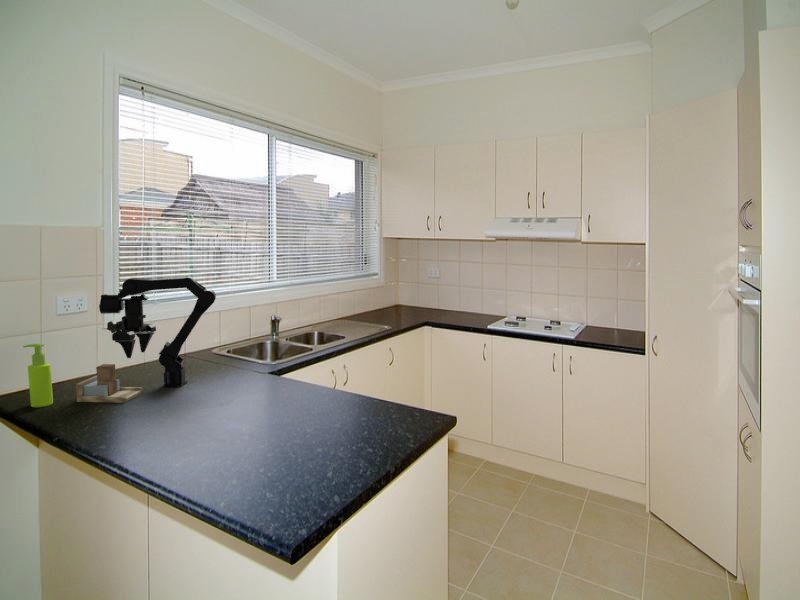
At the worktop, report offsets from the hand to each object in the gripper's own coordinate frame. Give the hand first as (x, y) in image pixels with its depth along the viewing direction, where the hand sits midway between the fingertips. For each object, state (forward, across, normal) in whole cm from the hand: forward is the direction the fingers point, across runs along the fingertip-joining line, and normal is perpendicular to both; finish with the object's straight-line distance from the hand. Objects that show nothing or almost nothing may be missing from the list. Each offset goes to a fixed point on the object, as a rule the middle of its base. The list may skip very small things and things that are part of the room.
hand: (136, 355), depth 175 cm
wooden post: (+11, +11, -4) cm, 16 cm away
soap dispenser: (+12, +20, -21) cm, 31 cm away
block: (+11, +11, -6) cm, 17 cm away
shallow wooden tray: (+12, +12, -3) cm, 17 cm away
